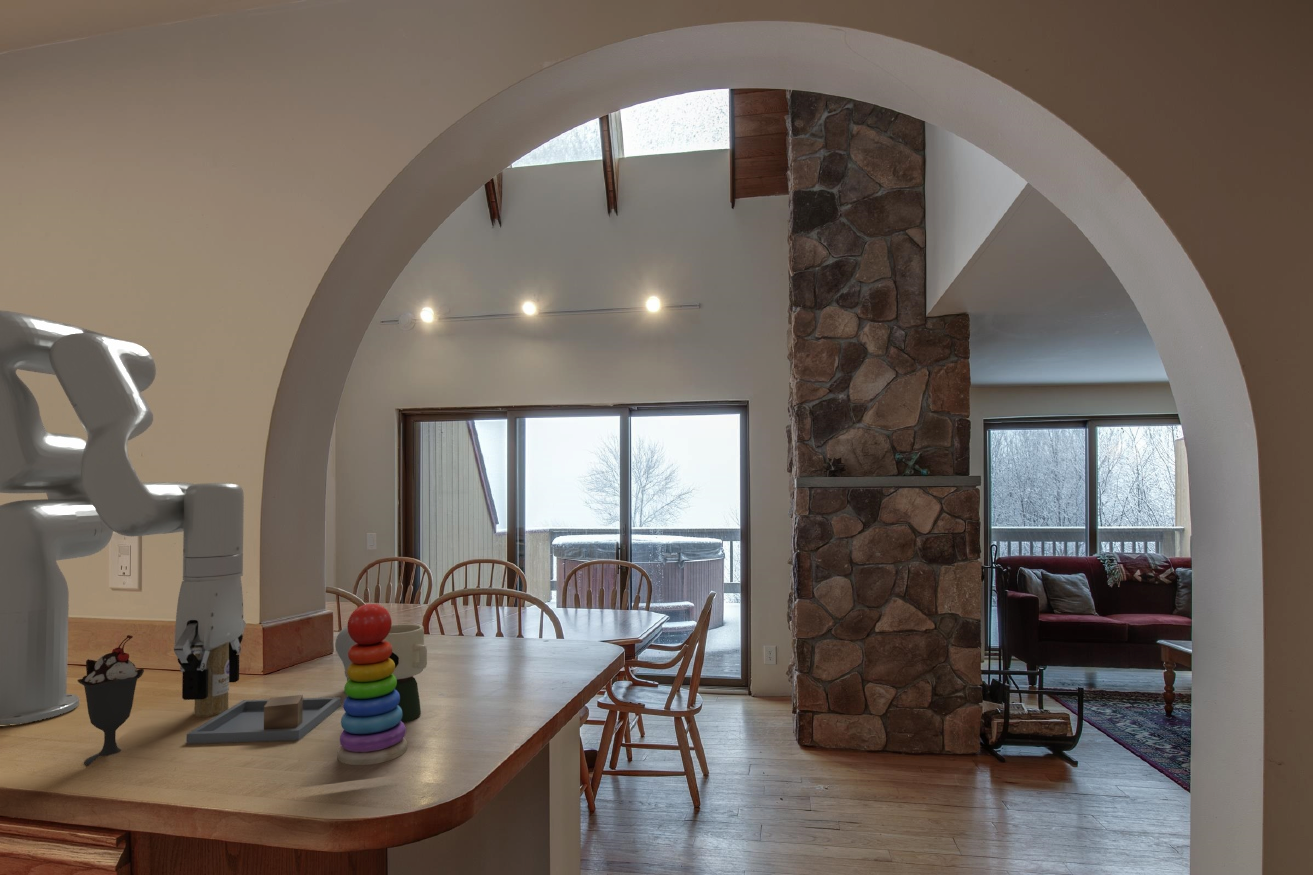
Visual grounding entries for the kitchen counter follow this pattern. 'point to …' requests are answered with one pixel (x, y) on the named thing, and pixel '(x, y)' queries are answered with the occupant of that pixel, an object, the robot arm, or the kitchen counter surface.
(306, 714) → the slate tray
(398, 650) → the character mug
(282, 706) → the walnut block
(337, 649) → the lightbulb
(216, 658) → the sprinkles bottle
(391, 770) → the kitchen counter surface
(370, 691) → the stacking toy
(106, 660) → the sundae
